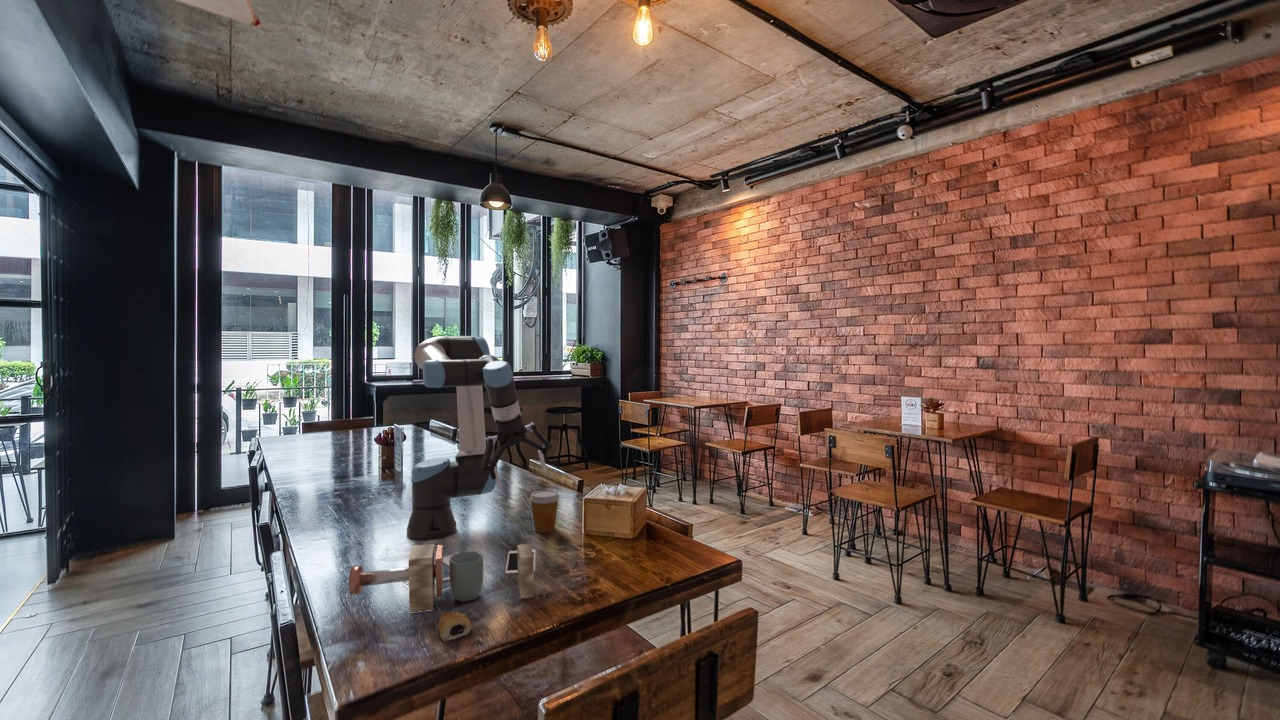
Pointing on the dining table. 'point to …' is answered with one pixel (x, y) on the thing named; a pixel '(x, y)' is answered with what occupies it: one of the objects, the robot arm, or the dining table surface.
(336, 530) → the dining table surface
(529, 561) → the end block
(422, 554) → the bearing block
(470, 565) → the cup
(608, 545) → the dining table surface
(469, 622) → the pastry
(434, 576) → the shaft
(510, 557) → the cell phone
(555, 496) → the disposable coffee cup
